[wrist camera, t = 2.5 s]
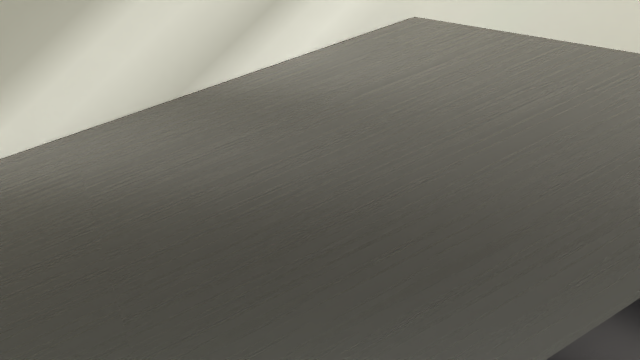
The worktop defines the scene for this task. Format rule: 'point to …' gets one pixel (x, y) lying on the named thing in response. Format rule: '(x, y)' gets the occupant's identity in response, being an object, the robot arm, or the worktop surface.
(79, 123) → the worktop surface
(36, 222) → the brushed grey cube
